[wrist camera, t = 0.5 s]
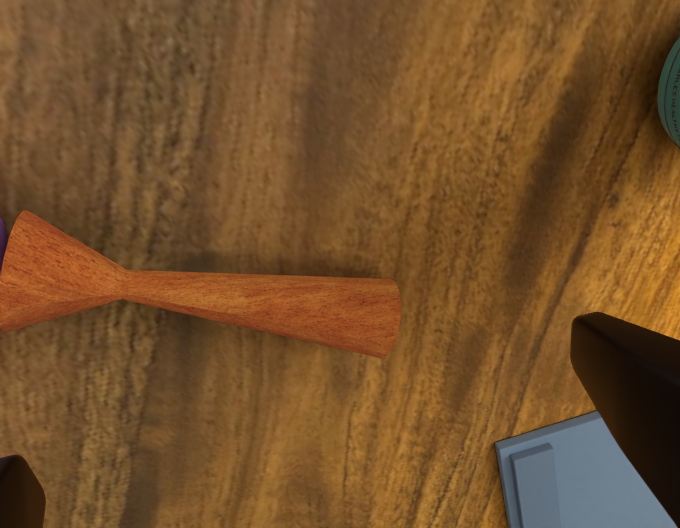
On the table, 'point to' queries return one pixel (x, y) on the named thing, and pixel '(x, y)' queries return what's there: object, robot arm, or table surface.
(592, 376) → the robot arm
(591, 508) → the grey-blue flat slab
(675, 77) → the beverage bottle
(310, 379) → the table surface
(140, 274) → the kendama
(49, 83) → the table surface
